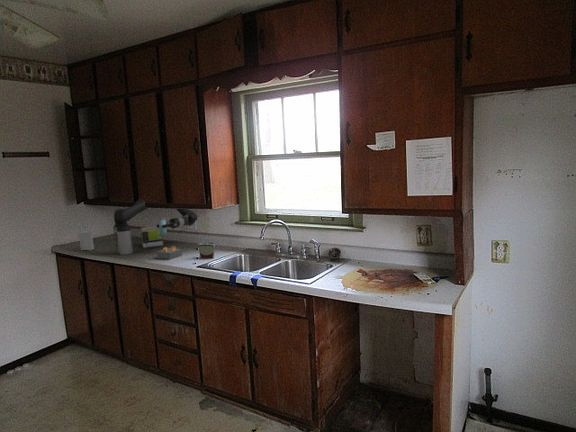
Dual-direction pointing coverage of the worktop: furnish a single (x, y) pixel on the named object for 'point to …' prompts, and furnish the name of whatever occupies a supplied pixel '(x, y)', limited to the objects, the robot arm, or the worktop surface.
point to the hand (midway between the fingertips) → (159, 226)
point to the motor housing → (169, 253)
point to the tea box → (151, 237)
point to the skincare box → (86, 240)
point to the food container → (206, 250)
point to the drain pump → (161, 222)
